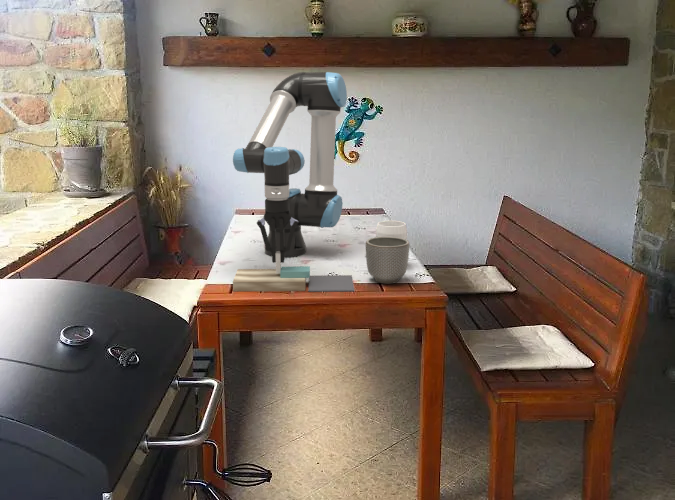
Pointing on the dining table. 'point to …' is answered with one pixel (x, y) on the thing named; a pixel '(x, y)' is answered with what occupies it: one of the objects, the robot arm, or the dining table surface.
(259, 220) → the robot arm
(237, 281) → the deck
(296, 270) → the teal foam pad
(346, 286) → the mat
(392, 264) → the planter
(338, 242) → the dining table surface
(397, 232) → the white vase
